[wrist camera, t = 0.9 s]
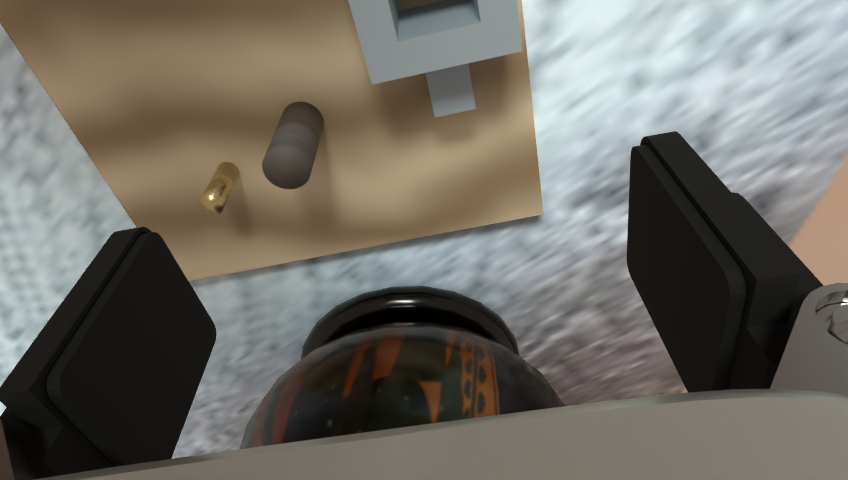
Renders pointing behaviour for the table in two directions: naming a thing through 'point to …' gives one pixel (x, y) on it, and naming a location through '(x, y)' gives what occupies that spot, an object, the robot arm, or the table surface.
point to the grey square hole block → (436, 43)
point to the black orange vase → (399, 369)
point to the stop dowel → (219, 189)
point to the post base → (275, 127)
